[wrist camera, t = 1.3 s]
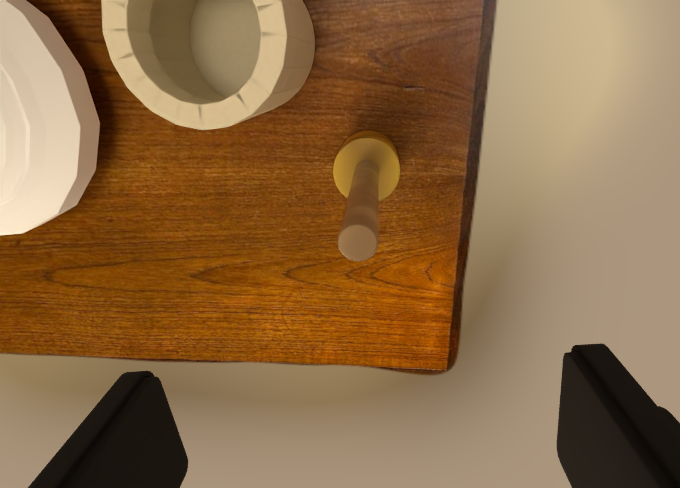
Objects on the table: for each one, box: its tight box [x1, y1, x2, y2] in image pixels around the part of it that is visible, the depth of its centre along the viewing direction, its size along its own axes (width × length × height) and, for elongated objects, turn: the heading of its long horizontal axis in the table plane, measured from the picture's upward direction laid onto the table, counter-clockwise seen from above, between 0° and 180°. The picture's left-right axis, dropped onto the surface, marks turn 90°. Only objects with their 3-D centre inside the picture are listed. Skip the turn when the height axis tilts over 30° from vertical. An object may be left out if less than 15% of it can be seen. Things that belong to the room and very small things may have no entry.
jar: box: [102, 0, 315, 130], centre depth 28 cm, size 10×10×11 cm
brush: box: [333, 130, 400, 261], centre depth 27 cm, size 5×5×18 cm
